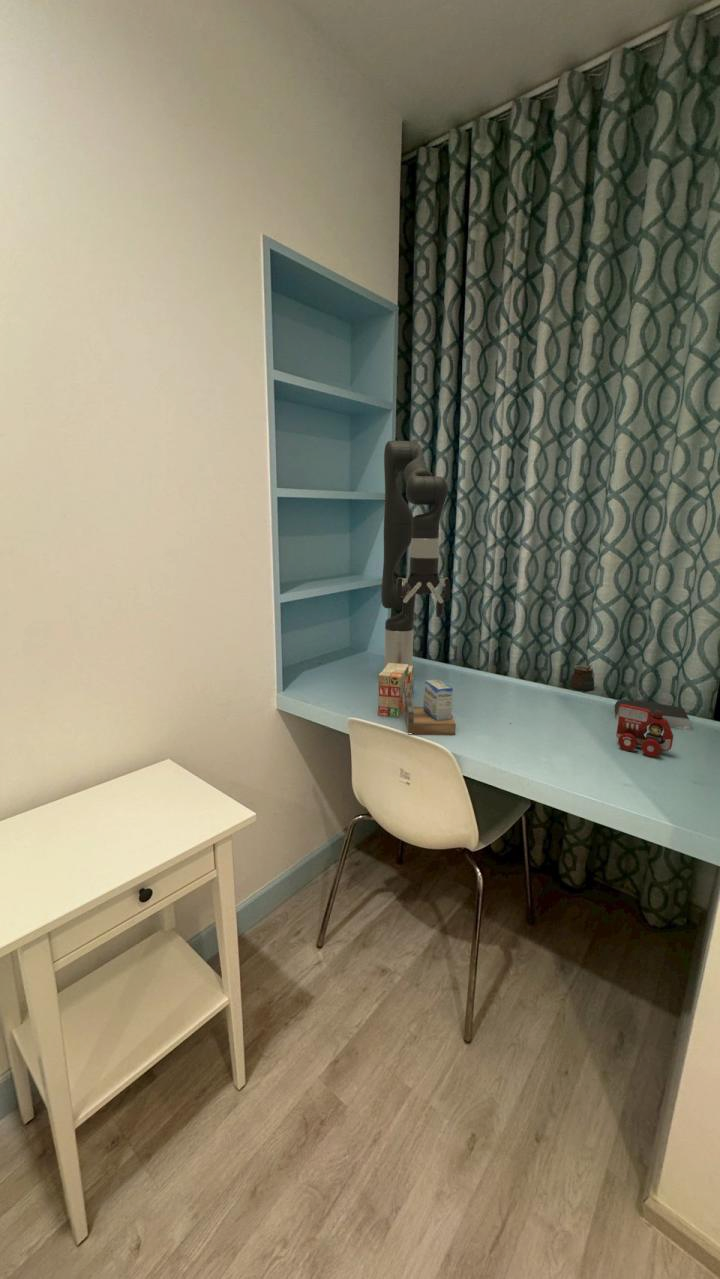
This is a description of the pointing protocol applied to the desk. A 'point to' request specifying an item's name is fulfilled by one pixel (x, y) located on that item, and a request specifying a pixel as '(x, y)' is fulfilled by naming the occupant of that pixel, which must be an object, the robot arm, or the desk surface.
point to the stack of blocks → (394, 689)
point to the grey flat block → (670, 713)
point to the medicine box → (438, 699)
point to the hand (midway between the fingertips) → (422, 616)
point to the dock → (426, 722)
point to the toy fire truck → (643, 730)
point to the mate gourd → (582, 678)
